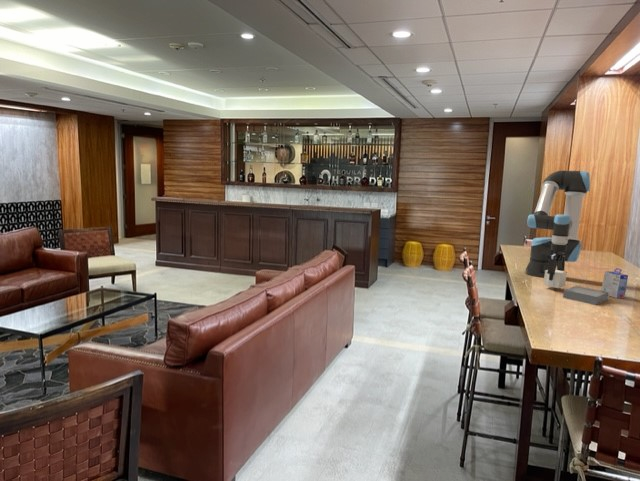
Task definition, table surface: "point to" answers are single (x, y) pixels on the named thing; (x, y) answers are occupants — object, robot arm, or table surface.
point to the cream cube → (556, 278)
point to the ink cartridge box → (615, 283)
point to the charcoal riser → (585, 295)
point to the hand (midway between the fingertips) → (554, 284)
